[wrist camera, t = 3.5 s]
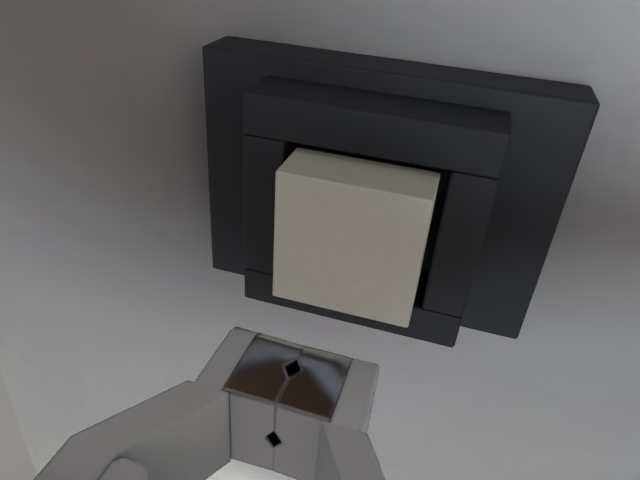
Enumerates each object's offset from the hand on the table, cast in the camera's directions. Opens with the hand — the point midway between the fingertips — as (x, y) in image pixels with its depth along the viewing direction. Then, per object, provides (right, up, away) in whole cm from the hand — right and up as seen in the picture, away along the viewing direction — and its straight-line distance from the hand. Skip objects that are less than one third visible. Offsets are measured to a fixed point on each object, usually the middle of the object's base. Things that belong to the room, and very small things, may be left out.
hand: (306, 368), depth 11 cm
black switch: (+2, +5, +7) cm, 9 cm away
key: (+1, +3, +5) cm, 6 cm away
